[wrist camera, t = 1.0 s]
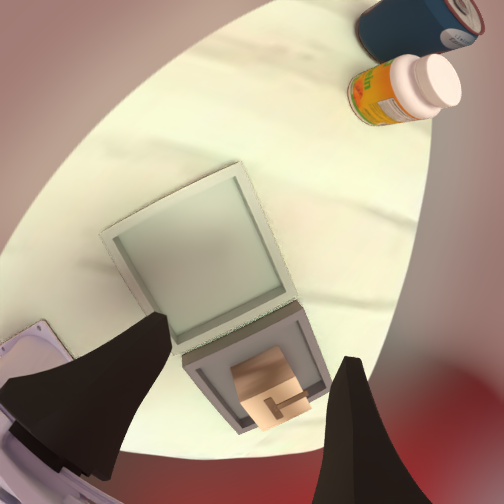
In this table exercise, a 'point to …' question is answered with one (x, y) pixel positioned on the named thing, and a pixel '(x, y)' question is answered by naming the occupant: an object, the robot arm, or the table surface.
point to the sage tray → (202, 258)
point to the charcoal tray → (249, 345)
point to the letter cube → (269, 389)
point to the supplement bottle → (404, 90)
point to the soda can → (419, 27)
